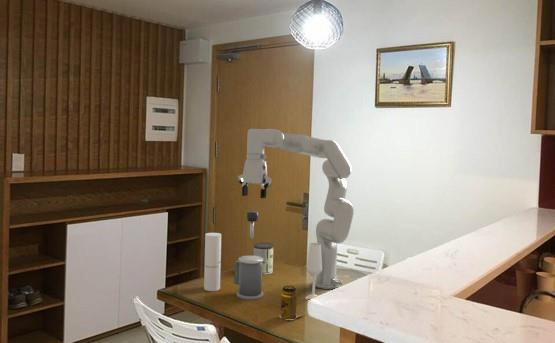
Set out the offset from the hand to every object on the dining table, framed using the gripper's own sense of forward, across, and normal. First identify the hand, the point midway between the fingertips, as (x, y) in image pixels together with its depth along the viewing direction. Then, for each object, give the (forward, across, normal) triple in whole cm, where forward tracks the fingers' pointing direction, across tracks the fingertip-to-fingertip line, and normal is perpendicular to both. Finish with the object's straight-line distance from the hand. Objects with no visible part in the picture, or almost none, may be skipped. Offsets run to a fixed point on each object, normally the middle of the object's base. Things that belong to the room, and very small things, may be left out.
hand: (253, 196), depth 214 cm
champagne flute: (+44, -24, -14) cm, 52 cm away
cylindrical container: (+44, +19, +4) cm, 48 cm away
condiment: (+44, -27, +11) cm, 53 cm away
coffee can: (+44, +16, -33) cm, 57 cm away
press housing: (+44, +1, +1) cm, 44 cm away
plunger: (+18, 0, +1) cm, 18 cm away
